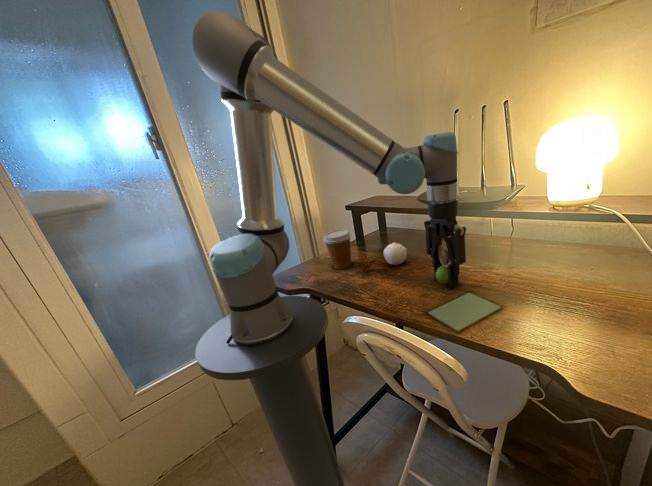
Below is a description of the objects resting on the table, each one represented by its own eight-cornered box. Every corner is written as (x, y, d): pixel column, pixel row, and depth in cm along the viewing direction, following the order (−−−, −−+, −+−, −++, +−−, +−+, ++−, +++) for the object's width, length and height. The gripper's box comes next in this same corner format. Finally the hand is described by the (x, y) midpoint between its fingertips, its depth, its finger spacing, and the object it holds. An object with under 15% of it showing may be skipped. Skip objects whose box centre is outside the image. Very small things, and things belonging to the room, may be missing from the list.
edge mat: (457, 332, 66) (457, 330, 66) (428, 313, 74) (427, 312, 74) (501, 308, 71) (501, 306, 71) (469, 293, 79) (469, 292, 79)
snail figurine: (448, 275, 90) (447, 237, 85) (458, 284, 84) (458, 244, 79) (431, 280, 89) (429, 241, 84) (440, 289, 84) (438, 248, 78)
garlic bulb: (407, 258, 106) (405, 237, 103) (408, 267, 100) (406, 245, 96) (385, 260, 107) (382, 240, 104) (384, 269, 101) (381, 247, 97)
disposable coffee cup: (345, 272, 103) (338, 239, 98) (324, 269, 108) (316, 237, 103) (360, 261, 110) (355, 229, 105) (340, 259, 115) (333, 228, 110)
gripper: (482, 200, 70) (480, 287, 81) (430, 194, 85) (434, 268, 95) (458, 208, 67) (460, 297, 77) (408, 200, 82) (415, 276, 92)
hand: (446, 281), depth 86 cm, fingers closed on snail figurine, 5 cm apart
